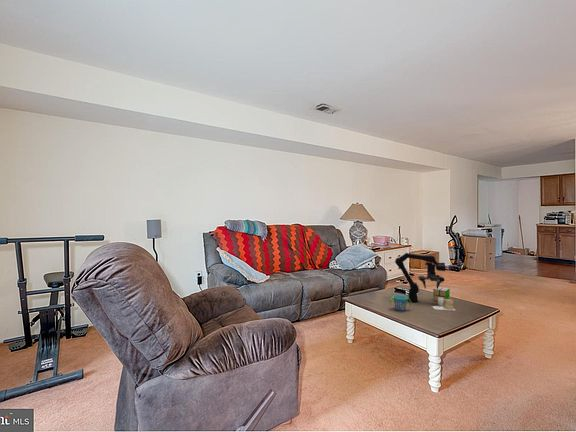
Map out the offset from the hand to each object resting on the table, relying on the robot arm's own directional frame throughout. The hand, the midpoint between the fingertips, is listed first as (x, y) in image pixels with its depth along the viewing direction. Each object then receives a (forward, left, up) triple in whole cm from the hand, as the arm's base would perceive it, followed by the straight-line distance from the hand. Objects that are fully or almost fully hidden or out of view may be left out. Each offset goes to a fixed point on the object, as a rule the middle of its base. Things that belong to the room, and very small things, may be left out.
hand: (431, 288), depth 232 cm
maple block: (+9, -13, -11) cm, 19 cm away
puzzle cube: (+11, +9, -12) cm, 19 cm away
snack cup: (-28, -20, -12) cm, 37 cm away
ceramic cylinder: (+6, -4, -12) cm, 14 cm away
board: (+5, -13, -12) cm, 18 cm away
